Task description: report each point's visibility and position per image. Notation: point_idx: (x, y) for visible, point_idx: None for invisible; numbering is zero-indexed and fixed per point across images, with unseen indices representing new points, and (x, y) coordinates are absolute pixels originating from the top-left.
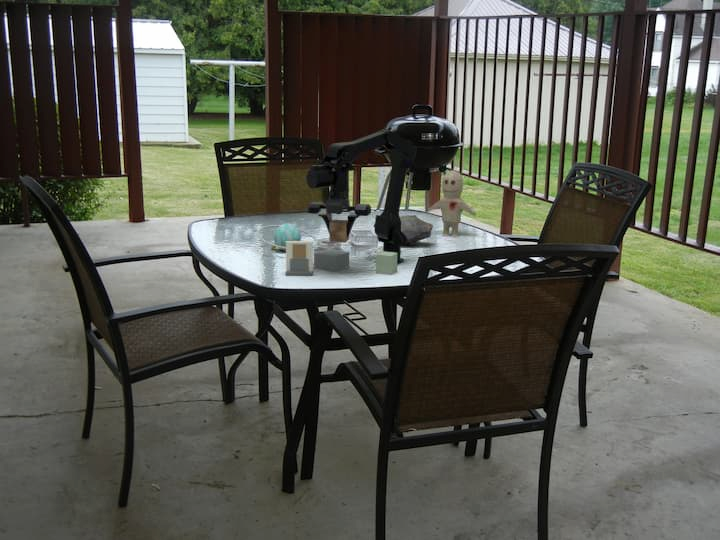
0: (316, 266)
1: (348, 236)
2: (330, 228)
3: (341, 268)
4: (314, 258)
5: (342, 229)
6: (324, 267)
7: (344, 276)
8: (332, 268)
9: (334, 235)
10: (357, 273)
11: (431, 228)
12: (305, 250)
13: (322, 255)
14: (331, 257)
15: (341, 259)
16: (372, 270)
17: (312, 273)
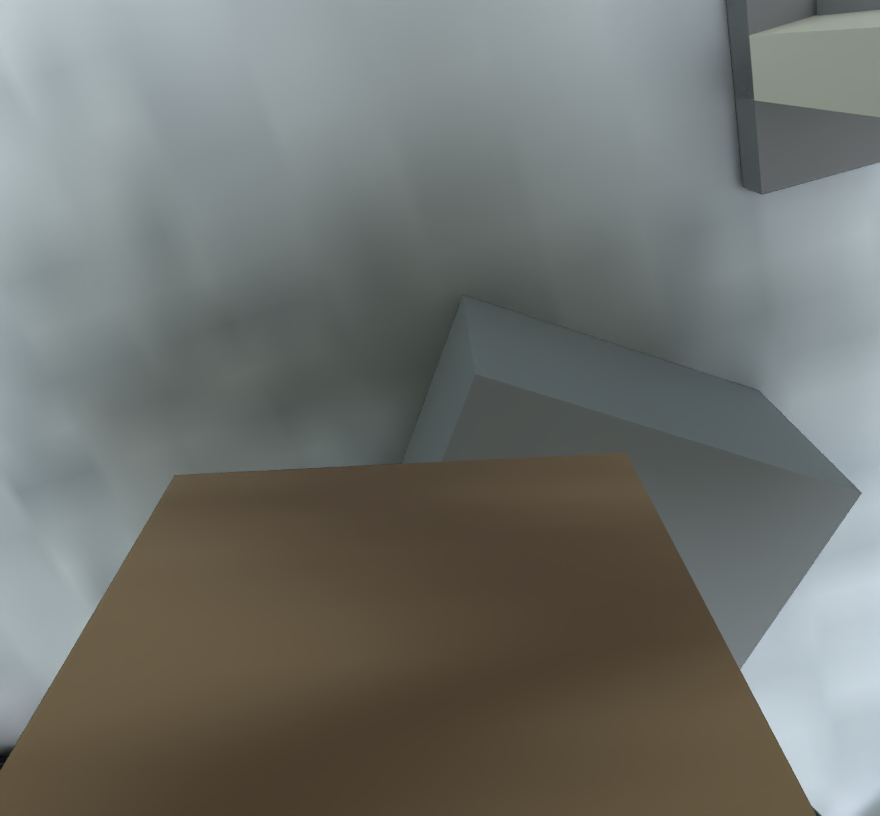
0: (734, 389)
1: None
2: (751, 789)
3: (414, 430)
4: (810, 446)
5: (129, 808)
6: (619, 354)
7: (244, 72)
8: (498, 316)
9: (504, 576)
10: (148, 295)
11: None
12: None
13: (704, 438)
14: (535, 384)
15: None
16: (49, 482)
17: (734, 22)
